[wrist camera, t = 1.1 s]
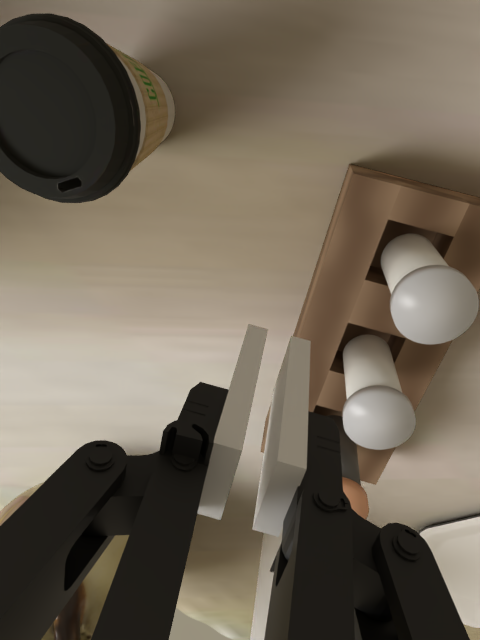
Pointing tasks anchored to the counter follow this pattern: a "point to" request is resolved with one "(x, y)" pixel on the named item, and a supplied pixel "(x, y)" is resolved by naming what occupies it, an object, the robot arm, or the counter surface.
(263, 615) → the milk
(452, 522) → the plate
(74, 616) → the pitcher
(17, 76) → the coffee cup
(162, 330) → the counter surface
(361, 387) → the knob mid
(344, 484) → the pot knob
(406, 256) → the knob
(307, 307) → the mount
